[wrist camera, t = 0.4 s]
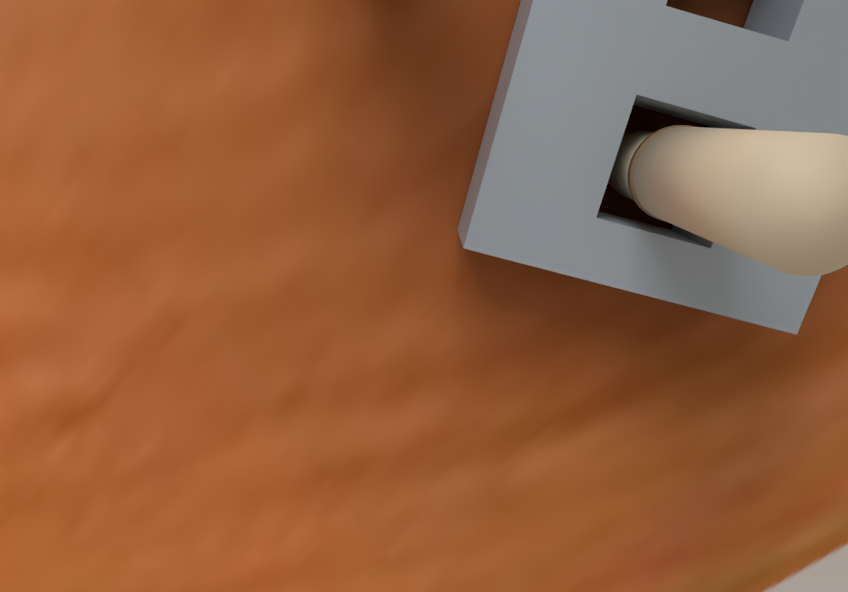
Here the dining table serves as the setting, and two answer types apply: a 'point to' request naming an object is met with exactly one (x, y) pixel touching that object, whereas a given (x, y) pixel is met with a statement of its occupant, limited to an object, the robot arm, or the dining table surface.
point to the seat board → (591, 121)
